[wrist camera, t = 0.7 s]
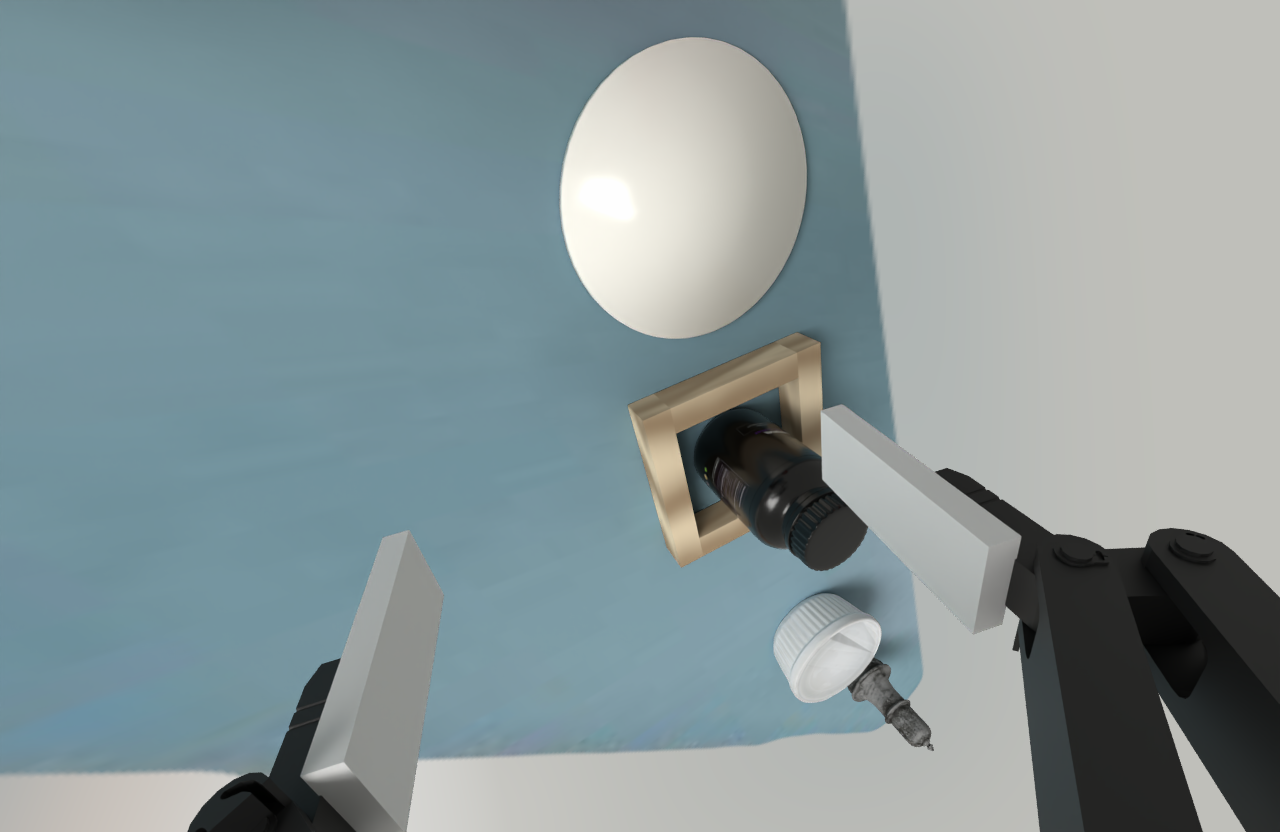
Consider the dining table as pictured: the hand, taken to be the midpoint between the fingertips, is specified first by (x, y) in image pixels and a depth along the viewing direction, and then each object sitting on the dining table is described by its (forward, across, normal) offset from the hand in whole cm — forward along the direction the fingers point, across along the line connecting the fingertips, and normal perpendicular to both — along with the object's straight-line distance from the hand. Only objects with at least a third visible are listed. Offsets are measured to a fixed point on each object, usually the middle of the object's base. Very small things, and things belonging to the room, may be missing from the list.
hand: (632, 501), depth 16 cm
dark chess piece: (+24, +23, -52) cm, 61 cm away
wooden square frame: (+19, +9, -12) cm, 25 cm away
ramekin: (+22, +16, -40) cm, 49 cm away
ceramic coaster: (+18, +9, +6) cm, 21 cm away
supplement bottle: (+20, +9, -12) cm, 25 cm away
